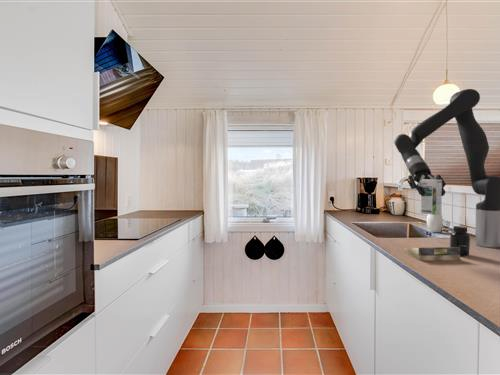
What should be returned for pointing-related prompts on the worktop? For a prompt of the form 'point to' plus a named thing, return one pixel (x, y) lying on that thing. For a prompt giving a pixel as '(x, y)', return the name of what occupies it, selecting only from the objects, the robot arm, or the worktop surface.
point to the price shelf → (434, 253)
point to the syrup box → (431, 196)
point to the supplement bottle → (460, 240)
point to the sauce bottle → (434, 222)
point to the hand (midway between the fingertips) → (433, 194)
